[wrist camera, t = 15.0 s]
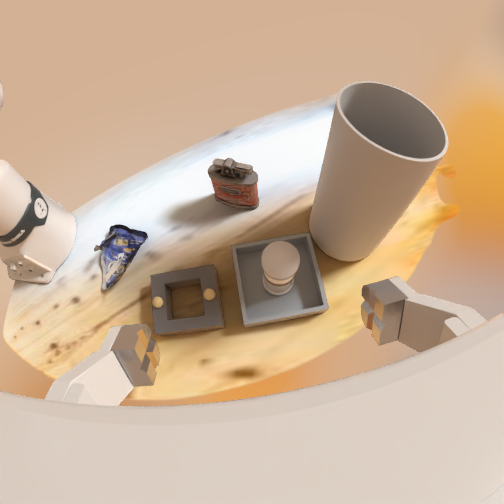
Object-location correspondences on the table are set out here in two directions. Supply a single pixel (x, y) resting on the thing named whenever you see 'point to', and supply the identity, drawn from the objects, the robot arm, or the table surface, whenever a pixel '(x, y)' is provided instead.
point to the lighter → (234, 184)
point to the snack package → (119, 250)
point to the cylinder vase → (372, 167)
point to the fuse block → (184, 278)
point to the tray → (278, 307)
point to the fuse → (279, 267)
